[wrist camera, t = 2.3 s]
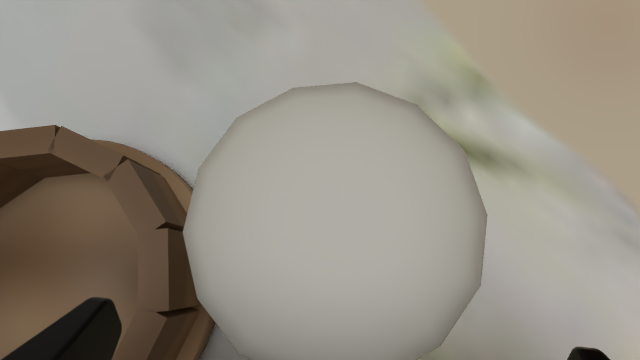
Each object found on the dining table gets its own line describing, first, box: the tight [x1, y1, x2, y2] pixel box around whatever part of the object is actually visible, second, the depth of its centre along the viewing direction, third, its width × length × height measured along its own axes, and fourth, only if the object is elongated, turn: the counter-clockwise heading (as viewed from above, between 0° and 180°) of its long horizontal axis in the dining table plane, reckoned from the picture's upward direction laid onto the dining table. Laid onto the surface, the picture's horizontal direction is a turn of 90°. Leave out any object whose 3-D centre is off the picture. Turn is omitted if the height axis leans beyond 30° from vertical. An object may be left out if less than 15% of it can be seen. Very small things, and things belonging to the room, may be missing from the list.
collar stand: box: [0, 125, 215, 360], centre depth 17 cm, size 12×12×4 cm
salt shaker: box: [183, 82, 487, 360], centre depth 12 cm, size 6×6×13 cm
